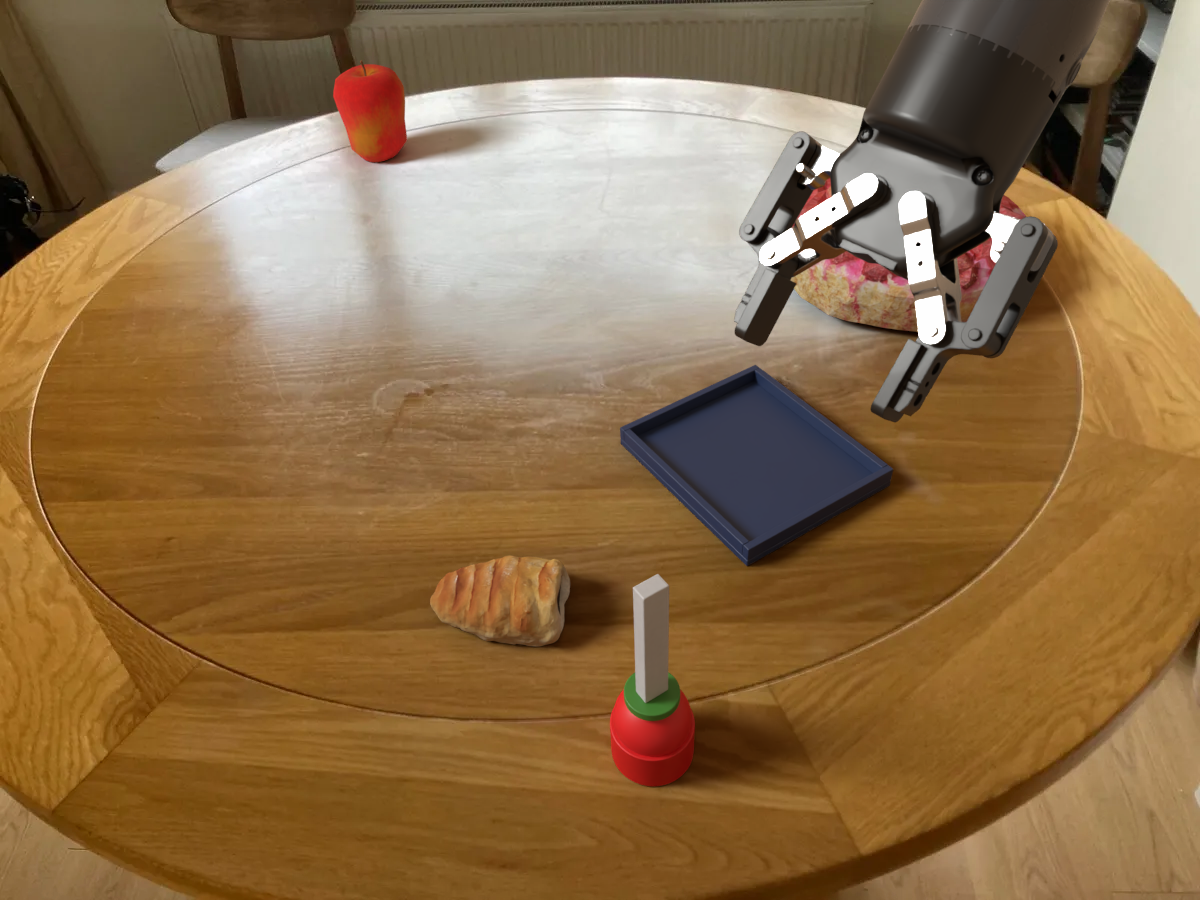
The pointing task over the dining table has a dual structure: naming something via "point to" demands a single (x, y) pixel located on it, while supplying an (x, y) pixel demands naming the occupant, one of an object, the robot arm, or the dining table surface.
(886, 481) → the tray
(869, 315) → the cake
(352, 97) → the apple
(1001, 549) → the dining table surface
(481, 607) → the pastry
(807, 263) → the robot arm
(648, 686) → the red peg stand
